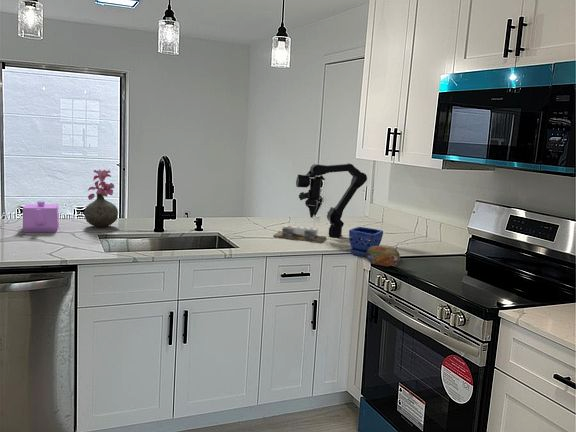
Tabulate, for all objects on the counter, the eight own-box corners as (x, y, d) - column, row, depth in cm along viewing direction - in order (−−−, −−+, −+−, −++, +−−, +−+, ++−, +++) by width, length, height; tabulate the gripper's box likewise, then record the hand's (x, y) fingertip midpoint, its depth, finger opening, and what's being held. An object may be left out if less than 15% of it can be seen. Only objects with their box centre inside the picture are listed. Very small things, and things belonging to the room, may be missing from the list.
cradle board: (325, 238, 291) (326, 229, 290) (321, 242, 279) (322, 233, 278) (279, 233, 297) (279, 224, 296) (273, 237, 285) (273, 227, 285)
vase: (108, 231, 274) (108, 172, 269) (76, 228, 276) (76, 169, 272) (123, 225, 290) (123, 170, 285) (92, 222, 293) (93, 167, 288)
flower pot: (382, 254, 262) (384, 230, 260) (372, 259, 250) (374, 234, 248) (357, 249, 268) (359, 226, 266) (346, 254, 257) (348, 229, 255)
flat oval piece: (365, 262, 243) (366, 244, 241) (367, 261, 245) (369, 243, 244) (397, 268, 236) (399, 249, 234) (399, 267, 239) (401, 248, 237)
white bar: (317, 234, 288) (317, 228, 287) (315, 235, 284) (316, 229, 283) (284, 230, 292) (285, 224, 291) (282, 231, 288) (283, 226, 287)
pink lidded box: (21, 234, 254) (20, 205, 252) (27, 224, 277) (26, 197, 275) (55, 234, 259) (55, 205, 257) (59, 224, 282) (59, 198, 280)
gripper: (304, 185, 301) (302, 212, 304) (296, 188, 283) (294, 217, 286) (324, 186, 298) (322, 214, 301) (317, 190, 281) (315, 219, 283)
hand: (313, 216), depth 293 cm, fingers open, 9 cm apart
